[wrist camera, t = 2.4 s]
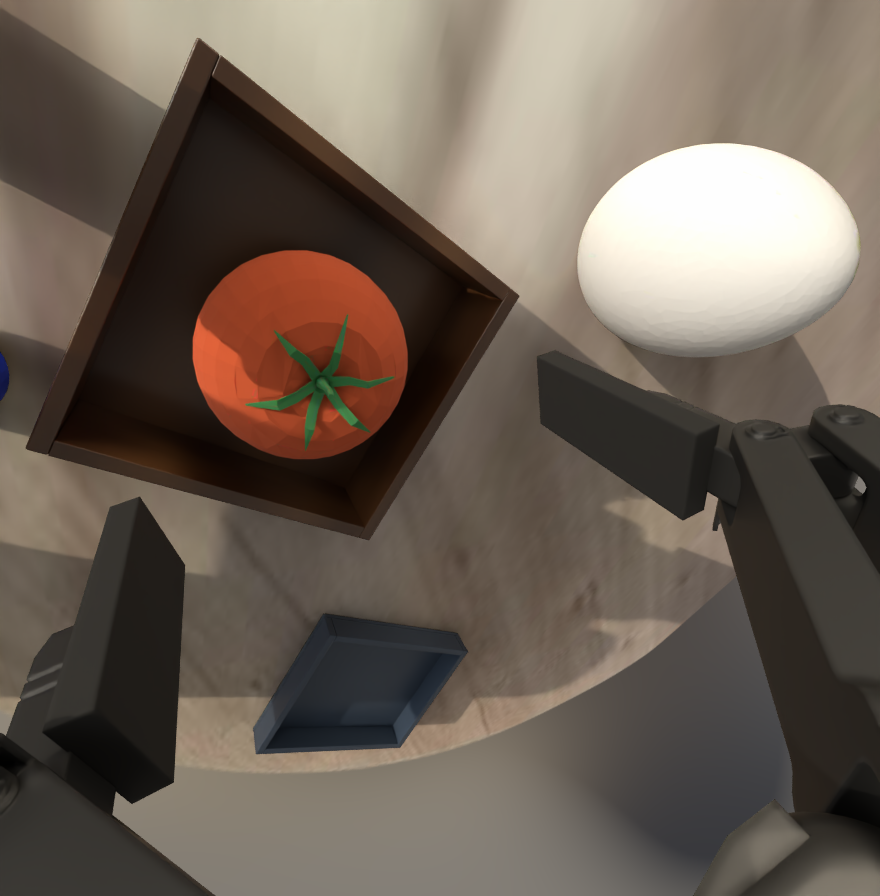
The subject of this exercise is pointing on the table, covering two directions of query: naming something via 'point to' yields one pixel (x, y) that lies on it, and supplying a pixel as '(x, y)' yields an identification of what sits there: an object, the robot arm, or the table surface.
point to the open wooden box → (215, 256)
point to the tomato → (300, 354)
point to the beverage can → (3, 376)
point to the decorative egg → (716, 251)
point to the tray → (357, 686)
